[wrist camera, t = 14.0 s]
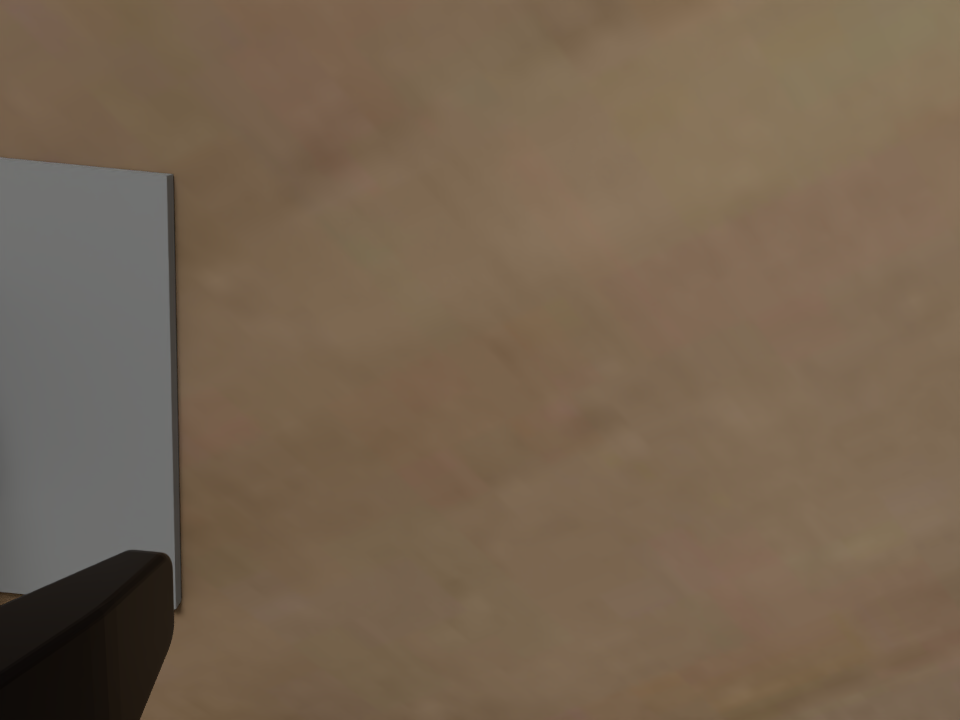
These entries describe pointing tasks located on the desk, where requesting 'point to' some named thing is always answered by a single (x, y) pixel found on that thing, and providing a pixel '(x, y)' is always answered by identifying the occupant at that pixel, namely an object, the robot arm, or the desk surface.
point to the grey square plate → (86, 370)
